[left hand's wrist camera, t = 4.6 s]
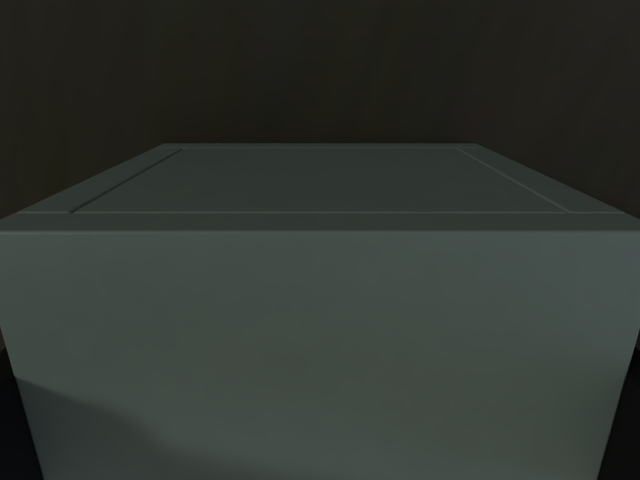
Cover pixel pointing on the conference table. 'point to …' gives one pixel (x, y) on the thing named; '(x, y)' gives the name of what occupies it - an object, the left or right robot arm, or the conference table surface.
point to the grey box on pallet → (320, 316)
